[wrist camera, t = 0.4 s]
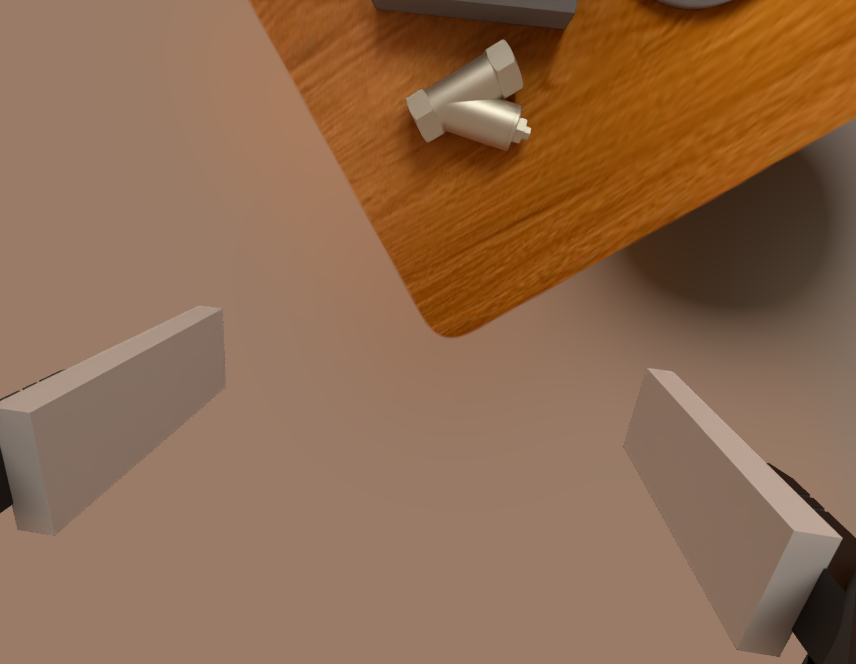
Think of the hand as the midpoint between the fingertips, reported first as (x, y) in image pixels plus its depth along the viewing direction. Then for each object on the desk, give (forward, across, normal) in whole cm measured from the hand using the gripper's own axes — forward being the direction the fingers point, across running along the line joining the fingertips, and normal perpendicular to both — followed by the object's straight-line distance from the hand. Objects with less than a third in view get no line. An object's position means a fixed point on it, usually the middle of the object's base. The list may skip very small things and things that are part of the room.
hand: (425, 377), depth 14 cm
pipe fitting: (+27, 0, +10) cm, 29 cm away
